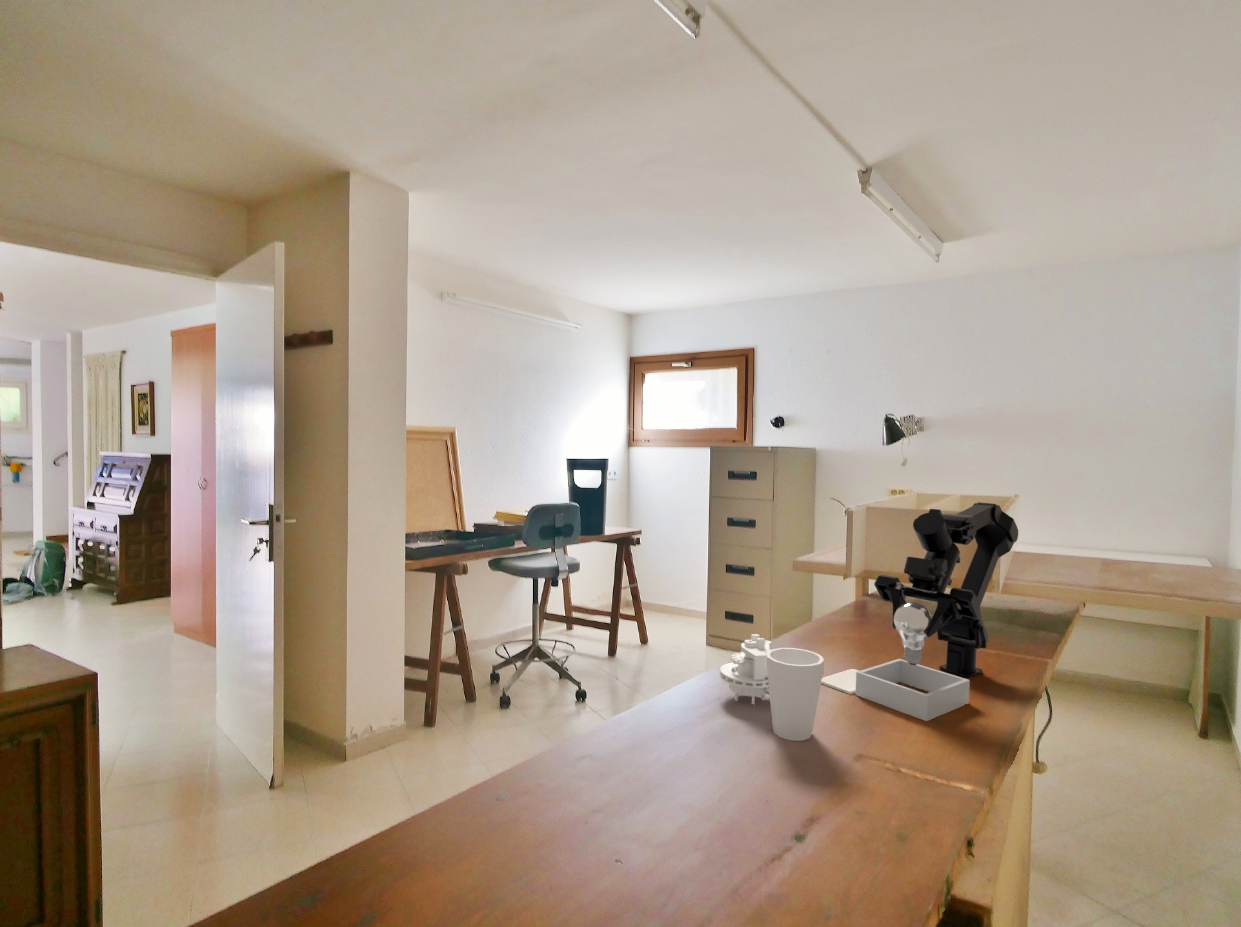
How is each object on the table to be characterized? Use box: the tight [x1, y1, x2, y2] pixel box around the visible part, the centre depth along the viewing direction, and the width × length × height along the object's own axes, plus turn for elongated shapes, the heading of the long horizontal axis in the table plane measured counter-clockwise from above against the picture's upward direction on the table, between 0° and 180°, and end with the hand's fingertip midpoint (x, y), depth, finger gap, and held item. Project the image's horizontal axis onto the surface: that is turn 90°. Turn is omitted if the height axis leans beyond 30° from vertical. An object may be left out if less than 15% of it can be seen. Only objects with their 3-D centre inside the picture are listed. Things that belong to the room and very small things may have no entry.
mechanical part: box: [719, 633, 772, 706], centre depth 132 cm, size 11×12×12 cm
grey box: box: [854, 658, 971, 722], centre depth 133 cm, size 15×15×4 cm
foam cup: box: [766, 647, 825, 742], centre depth 117 cm, size 10×9×13 cm
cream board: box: [821, 668, 860, 695], centre depth 142 cm, size 12×8×1 cm, turn 126°
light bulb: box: [894, 601, 933, 665], centre depth 133 cm, size 7×7×12 cm
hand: (910, 631), depth 132 cm, fingers closed on light bulb, 6 cm apart
